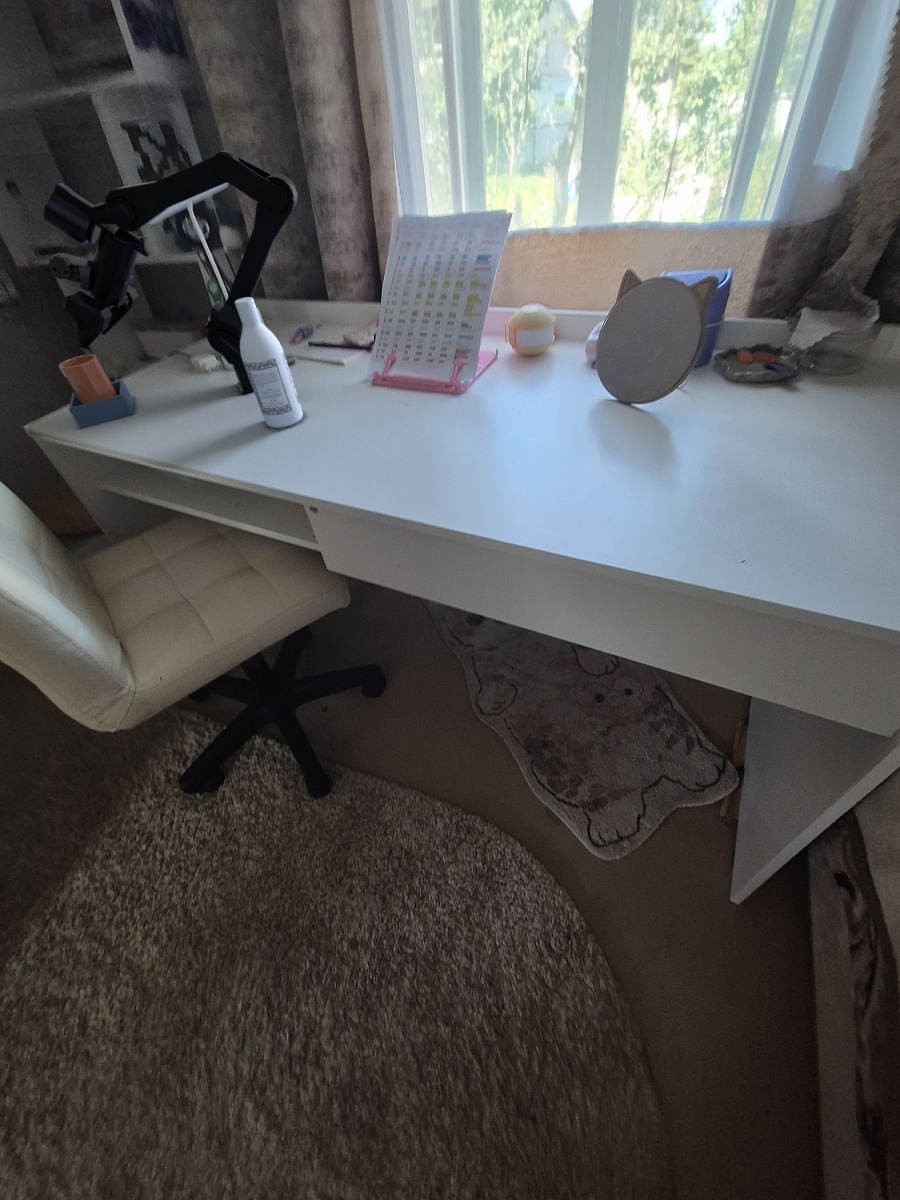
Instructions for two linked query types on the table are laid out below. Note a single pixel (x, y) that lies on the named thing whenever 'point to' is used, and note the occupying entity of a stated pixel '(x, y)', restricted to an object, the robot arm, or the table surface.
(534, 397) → the table surface
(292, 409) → the bath foam
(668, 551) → the table surface
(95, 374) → the cup
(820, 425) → the table surface
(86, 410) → the tub
